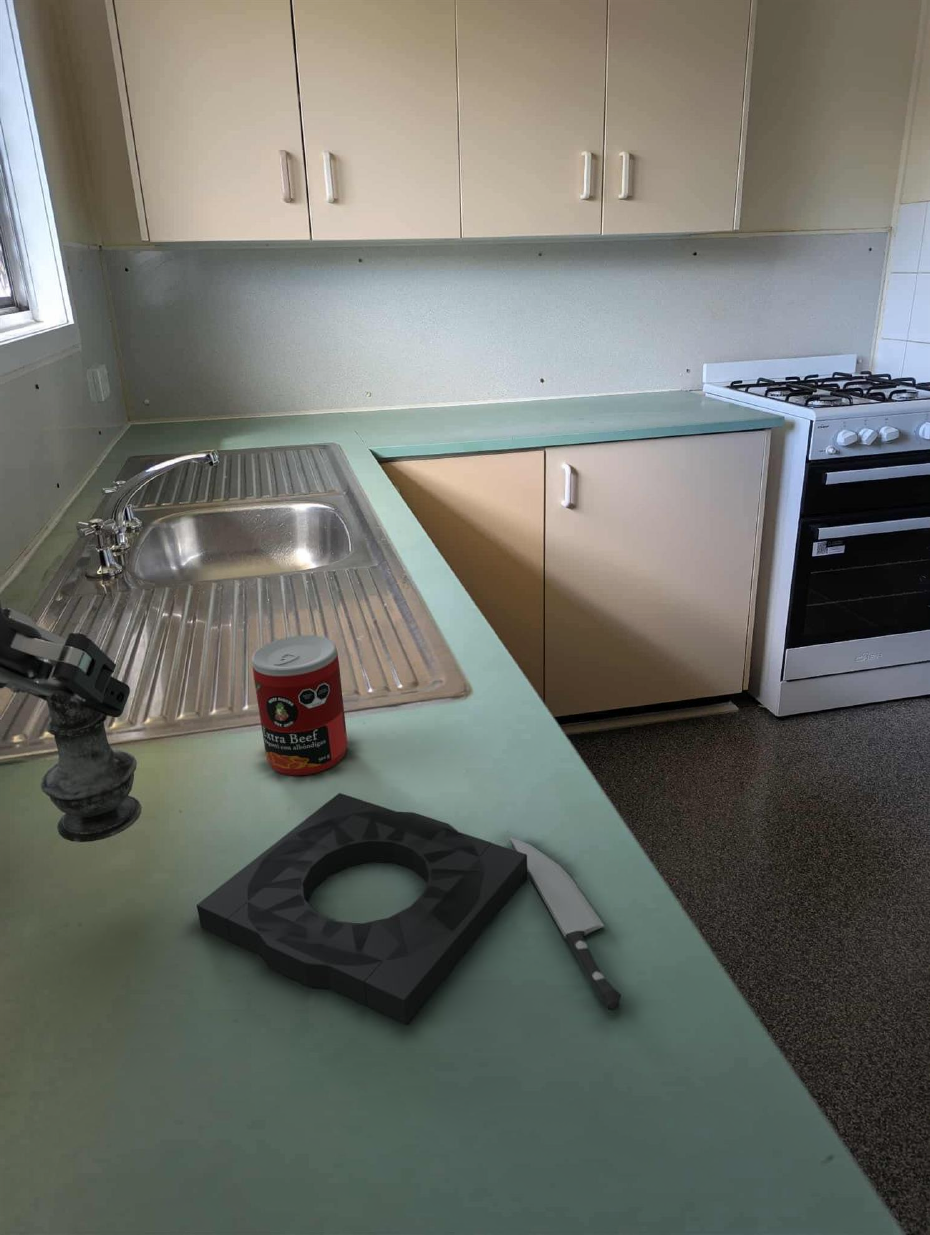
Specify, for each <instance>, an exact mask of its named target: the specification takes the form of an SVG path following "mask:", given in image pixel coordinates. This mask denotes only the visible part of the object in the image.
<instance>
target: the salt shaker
mask: <svg viewBox="0 0 930 1235" xmlns="http://www.w3.org/2000/svg"><path fill="white" fill-rule="evenodd" d="M46 700H47V701H46V704H47V708H48V712H49V716H50V719H51V720H50V721H48V723H47V725H46V731H47V733H49V734H50V735H52V736H54V741H55V745H56V748H57V753H58V763H56V764H54V765H53V766H52V767H51V768H50V769H48V770H47V771H46V772H45V773H44V775H43V776H42V778H41V783H40V788H41V790H42V792H43V793H44V794H45V795H47V796H48V797H49V799H50V801H51V803H52V804H53V805H54V806H55V807H56V808H57V809H58V810H59V811H61V812H62V813H63V815H62V816H60V817H61V818H60V819H59V820H58V823H57V827H56V828H57V832H58V834H59V836H60V837H61V838H63V839H64V840H67V841H70V842H75V843H89V842H90V843H91V842H96V841H97V842H98V841H101V840H106V839H108V838H111V837H113V836H116V835H118V834H120V833H122V832H124V831H126V830H128V828H130V827H131V826H133V825H134V823H136V822H137V821H138V820H139V818H140V816H141V814H142V807H143V806H142V804H141V802H140V801H139V800H138V799H137V798H135V797H134V796H131V795H130V793H131V791H132V788H133V784H134V781H135V778H134V777H135V771H136V770H137V764H138V761H137V760H136V757H135V756H134V755H133V754H131V753H130V752H128V751H125V750H122V749H115V748H112V747H111V745H110V743H109V741H108V736H107V731H106V727H105V722H106V720H107V719H108V716H106V715H104V714H102V713H100V712H98V711H95V710H93V709H91V708H89V707H87V706H85V705H83V704H80V703H74V702H71V701H69V700H70V699H68V698H65V697H63V696H60V695H58V694H53V695H51V696H46Z"/></svg>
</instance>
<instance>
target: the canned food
mask: <svg viewBox="0 0 930 1235" xmlns="http://www.w3.org/2000/svg"><path fill="white" fill-rule="evenodd" d="M338 652H339V651H338V648H337V644H336V643H335V642H334V641H333V640H332V639H330V638H329V637H325V636H319V635H312V634H311V635H309V634H304V635H303V634H302V635H292V636H287V637H283V638H279V639H275V640H272V641H270V642H268V643H265V644H264V645H261V646H260V647H259V648H257V649H256V650H255V651H254V652H253V654H252V656H251V667H252V675H253V682H254V688H255V695H256V701H257V707H258V714H259V721H260V726H261V732H262V740H263V746H264V752H265V757H266V760H267V761H268V764H269V765H270V767H271V768H272V769H273V770H275V771H276V772H278V773H281V774H284V775H288V776H307V775H312V774H317V773H320V772H323V771H326V770H327V769H330V768H332V767H334V766H335V765H337V764H338V763H339V762H340V761H341V760H342V759H343V758H344V756H345V754H346V751H347V746H348V734H347V726H346V716H345V707H344V705H345V704H344V696H343V686H342V679H341V668H340V660H339V653H338Z"/></svg>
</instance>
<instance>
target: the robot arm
mask: <svg viewBox="0 0 930 1235" xmlns="http://www.w3.org/2000/svg"><path fill="white" fill-rule="evenodd" d="M116 667H117V664H116V663H115V662H114V661H113V660H112V659H111V658H110V657H109V656H108V655H107V654H106V653H105V652H104V651H103V650H102V649H101V648H100V647H99V646H98V645H97V644H96V643H95V642H94V641H93V640H92V639H91V638H89V637H88V636H86V634H83V633H80V632H76V633H73V632H69V633H68V635H67V637H66V638H65V637H62V636H60V635H58V634H56V633H54V632H52V631H50V630H47V629H45V628H43V627H41V626H39V625H37V624H36V622H35V620H34V618H32V617H31V616H29V615H26V614H24V613H22V612H20V611H17V610H15V609H12V608H8V607H3V606H2V603H1V601H0V689H4V688H6V689H8V690H10V691H11V692H12V693H16V694H20V693H22V694H23V693H24V694H26V693H27V694H29V695H31V696H34V697H36V698H39V699H41V700H43V701H45V702H47V700H46V696H51V695H53V694H58V695H60V696H63V697H65V698H68V699H70V700H69V701H71V702H74V703H80V704H83V705H85V706H87V707H89V708H91V709H93V710H95V711H98V712H100V713H102V714H104V715H106V716H107V717H112V718H119V717H121V715H122V714H123V713H124V710H125V707H126V705H127V702H128V699H129V696H130V694H131V688H130V686H129V684H127V683H125V682H123V681H121V680H119V679H117V678H115V677H114V676H112V674H113V673H115V670H116Z"/></svg>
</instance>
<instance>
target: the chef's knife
mask: <svg viewBox="0 0 930 1235" xmlns="http://www.w3.org/2000/svg"><path fill="white" fill-rule="evenodd" d="M509 839H510V841H511V843H512V845H513V847H514V850H515V851H518V852H521V853H524V854H527V874H528V875H529V877H530V878H531V879H530V880H532V883H533V884H534V886H535V887H536V889H537V891H538V893H539V895H540V896H541V898H542V901H543V902H544V904H545V906H546V907H547V909H548V911H549V912H550V914H551V916H552V918H553V919H554V921H555V924H556V925H557V927H558V929H559V930H560V933H561V934H562V935H563V937H564V939H565V940H566V942H567V944H568V945H569V947H570V948H571V950H572V952H573V953H574V955H575V956H576V958H577V960H578V962H579V963H580V965H581V967H582V969H583V970H584V972H585V974H586V976H587V978H588V980H589V981H590V983H591V985H592V987H593V988H594V990H595V992H596V994H597V996H598V997H599V999H600V1001H601V1002H602V1004H603V1006H604V1007H605V1008H606V1009H607V1010H608V1011H615V1010H616V1009H618V1007H619V1006H620V1002H621V996H622V994H621V993H620V992H618V990H617V989H616V988H615V987H614V986H613V985H612V984H611V983H610V982H609V981H608V980H607V979H606V977H605V976H604V975H603V973H602V971H601V969H600V968H599V966H598V965H597V963H596V961H595V959H594V957H593V955H592V953H591V950H590V948H589V947H588V944H587V943H586V940H585V939H584V936H587V935H589V934H591V933H592V932H595V931H597V930H599V929H602V928H603V927H605V924H604V923H603V921H602V920H601V919H600V918H599V916H598V914H597V913H596V911H595V910H594V908H593V907H592V906H591V905H590V903H589V902H588V900H587V899H586V897H585V896H584V895H583V893H582V892H581V890H580V889H579V887H578V886H577V884H576V883H575V882H574V880H573V879H572V877H571V876H570V875H569V874H568V873H567V871H566V870H564V868H563V867H562V866H561V865H560V864H558V863H557V862H556V861H554V860H553V859H552V858H550V857H549V856H547V855H546V854H545V853H543V852H541V851H540V850H538V849H537V848H536V847H534V846H533V845H531V844H530V843H527V842H524V841H521V840H518V839H516V838H514V837H511V836H509Z"/></svg>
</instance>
